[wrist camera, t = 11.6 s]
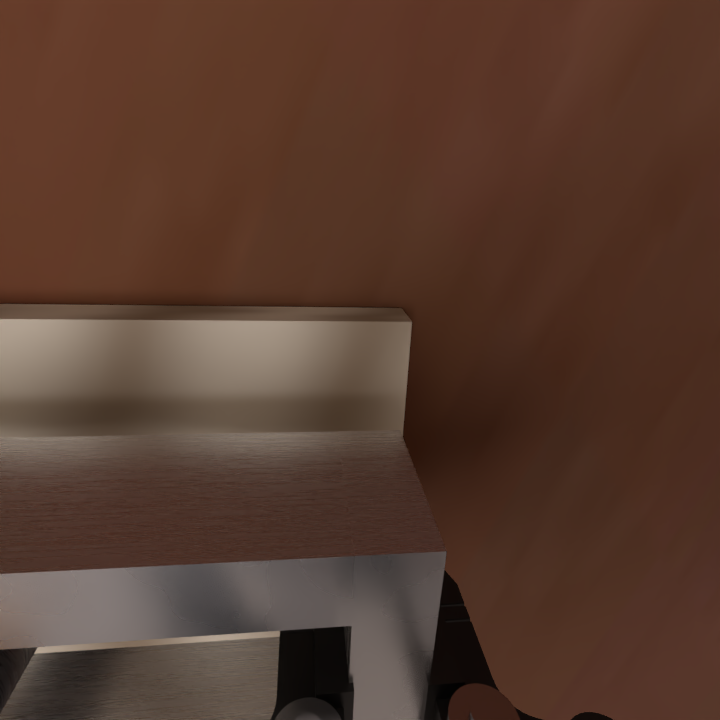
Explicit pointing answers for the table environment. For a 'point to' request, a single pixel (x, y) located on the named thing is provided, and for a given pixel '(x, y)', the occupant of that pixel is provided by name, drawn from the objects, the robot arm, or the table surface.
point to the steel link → (213, 570)
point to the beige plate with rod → (195, 383)
